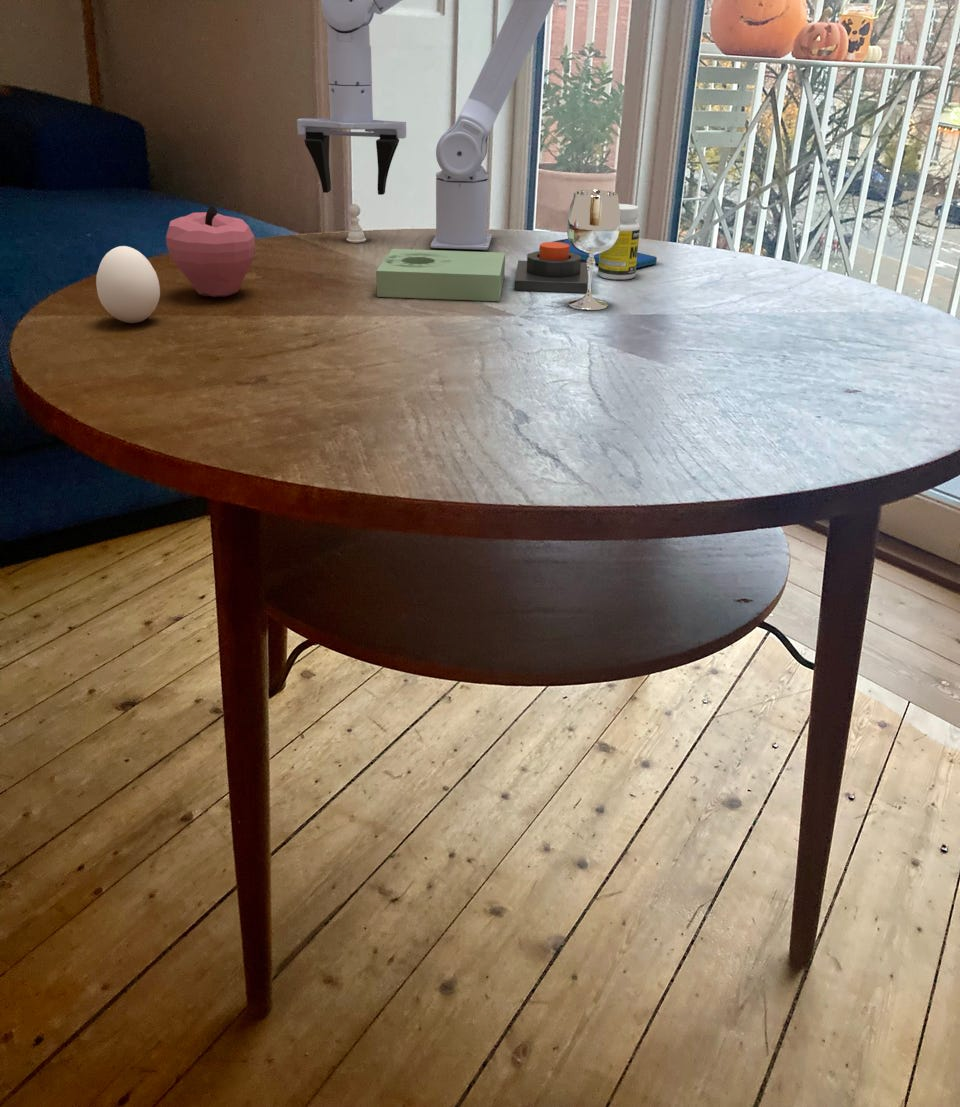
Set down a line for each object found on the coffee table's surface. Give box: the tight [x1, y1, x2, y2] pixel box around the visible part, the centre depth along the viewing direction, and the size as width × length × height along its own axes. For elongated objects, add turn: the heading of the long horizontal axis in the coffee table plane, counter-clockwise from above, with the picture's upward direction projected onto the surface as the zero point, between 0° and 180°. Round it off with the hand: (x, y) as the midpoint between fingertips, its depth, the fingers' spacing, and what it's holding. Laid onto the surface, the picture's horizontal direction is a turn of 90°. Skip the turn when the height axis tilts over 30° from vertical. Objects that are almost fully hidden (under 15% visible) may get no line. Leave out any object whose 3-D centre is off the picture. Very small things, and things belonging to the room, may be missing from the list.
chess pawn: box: [345, 203, 367, 244], centre depth 139 cm, size 3×3×5 cm
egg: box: [95, 245, 161, 324], centre depth 100 cm, size 6×6×8 cm
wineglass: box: [566, 189, 620, 311], centre depth 109 cm, size 6×6×12 cm
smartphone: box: [552, 238, 658, 269], centre depth 133 cm, size 7×1×15 cm
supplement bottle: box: [597, 203, 641, 281], centre depth 123 cm, size 5×5×8 cm
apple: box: [165, 205, 256, 298], centre depth 110 cm, size 10×9×10 cm
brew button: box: [538, 241, 570, 260], centre depth 120 cm, size 4×4×2 cm
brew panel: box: [514, 250, 588, 294], centre depth 121 cm, size 11×9×3 cm
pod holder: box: [375, 248, 506, 302], centre depth 117 cm, size 12×14×3 cm
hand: (354, 192), depth 137 cm, fingers open, 7 cm apart
